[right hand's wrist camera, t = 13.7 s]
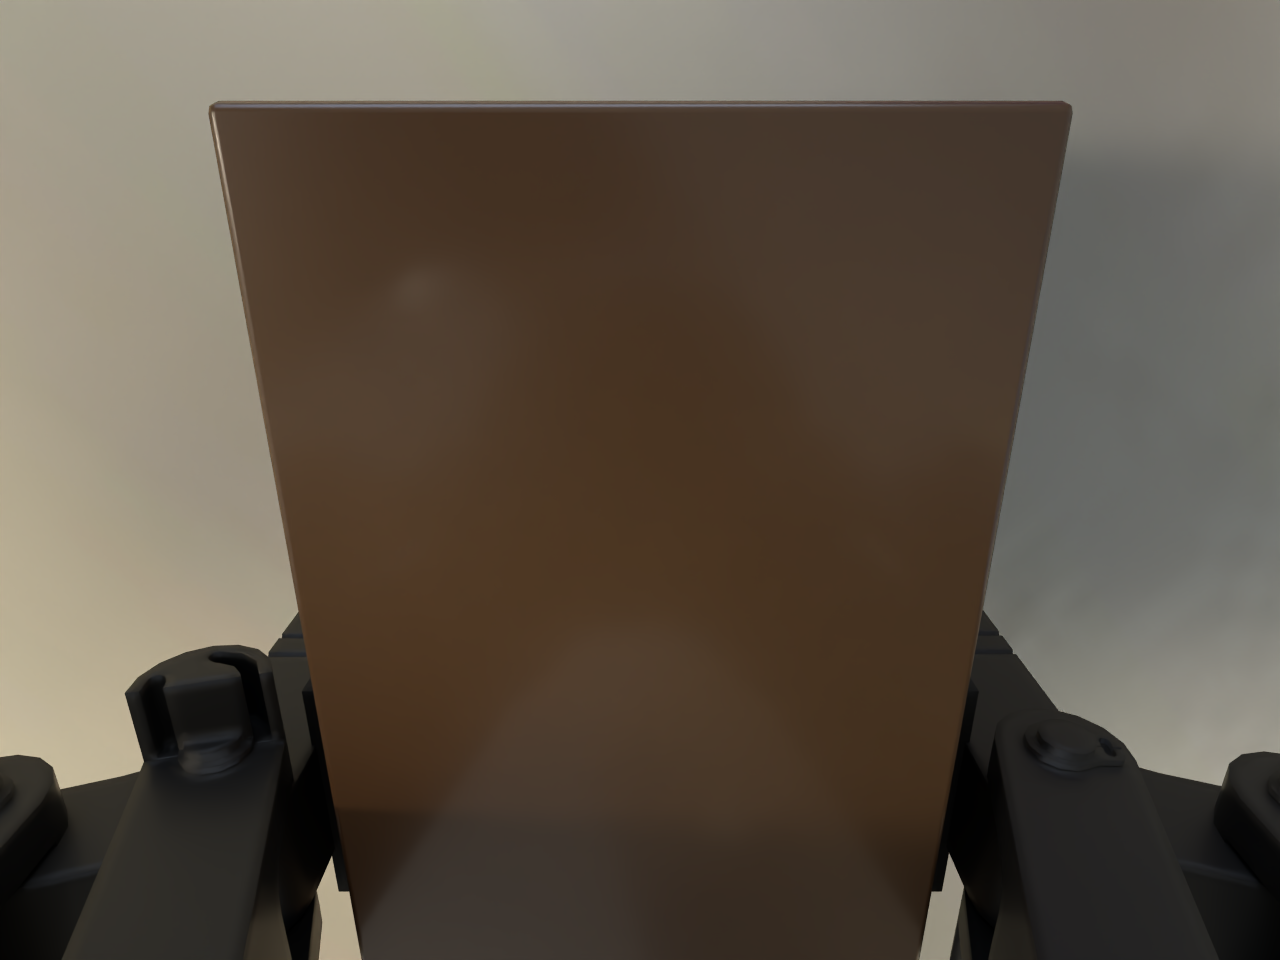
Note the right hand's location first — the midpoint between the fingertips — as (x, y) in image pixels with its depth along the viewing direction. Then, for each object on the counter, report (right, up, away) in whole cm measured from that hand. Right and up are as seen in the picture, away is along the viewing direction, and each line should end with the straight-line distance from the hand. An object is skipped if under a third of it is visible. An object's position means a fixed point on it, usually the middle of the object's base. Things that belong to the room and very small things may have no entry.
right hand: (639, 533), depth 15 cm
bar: (0, -29, +12) cm, 31 cm away
